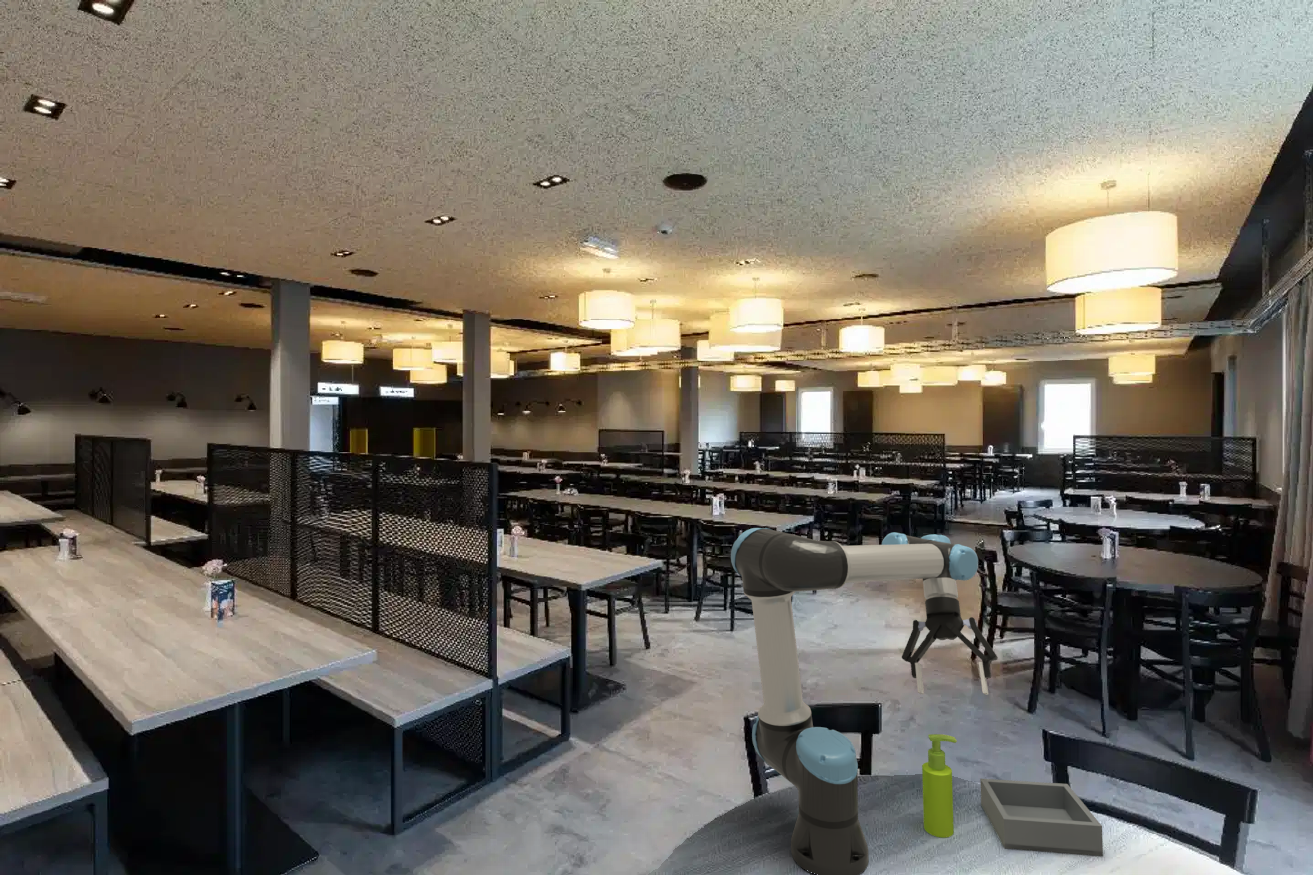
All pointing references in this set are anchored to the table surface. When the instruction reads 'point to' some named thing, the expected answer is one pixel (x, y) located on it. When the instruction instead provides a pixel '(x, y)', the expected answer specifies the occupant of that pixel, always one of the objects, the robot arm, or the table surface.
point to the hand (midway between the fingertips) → (952, 693)
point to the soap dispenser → (938, 790)
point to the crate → (1040, 817)
